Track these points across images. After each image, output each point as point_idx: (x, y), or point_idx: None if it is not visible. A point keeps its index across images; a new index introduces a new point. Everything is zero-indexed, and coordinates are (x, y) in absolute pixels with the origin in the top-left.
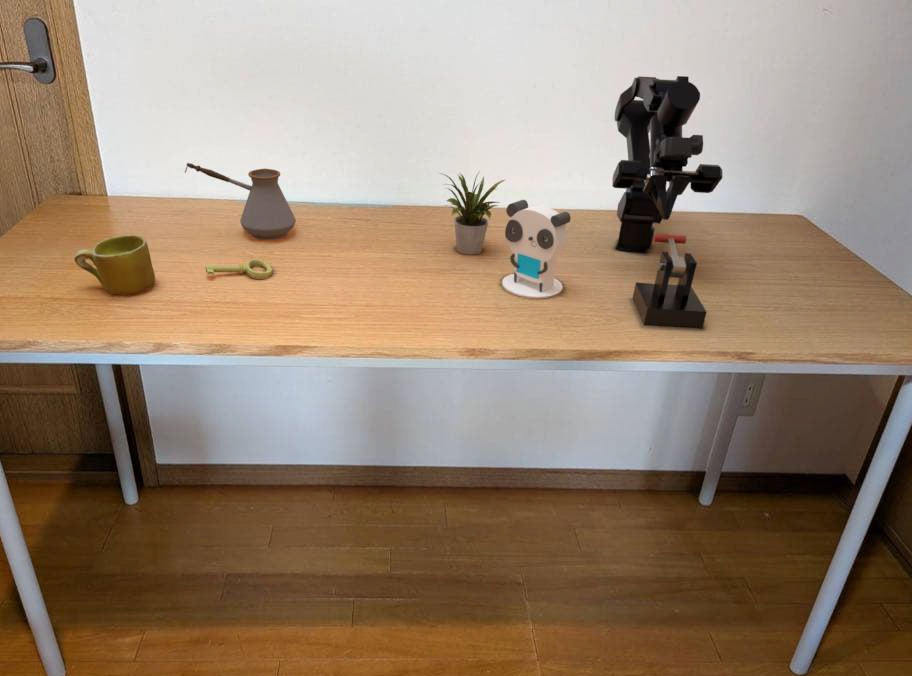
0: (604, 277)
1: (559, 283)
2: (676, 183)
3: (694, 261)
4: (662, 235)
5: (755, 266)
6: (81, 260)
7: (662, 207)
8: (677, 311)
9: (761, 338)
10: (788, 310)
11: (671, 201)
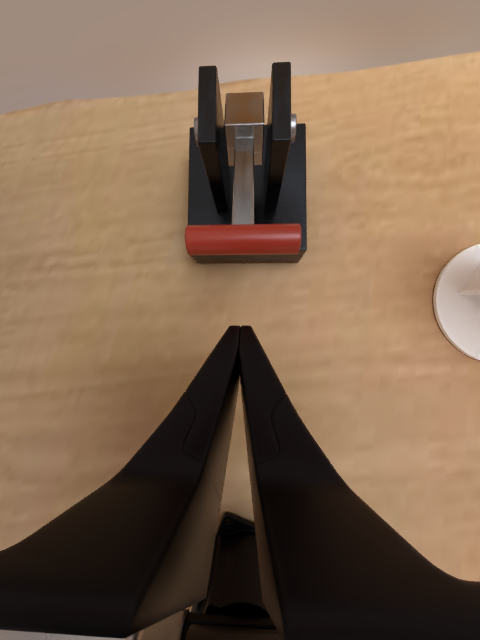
0: (337, 367)
1: (441, 313)
2: (145, 514)
3: (203, 76)
4: (274, 227)
5: (2, 469)
6: None
7: (267, 359)
8: None
9: (107, 144)
10: (21, 259)
11: (215, 380)
